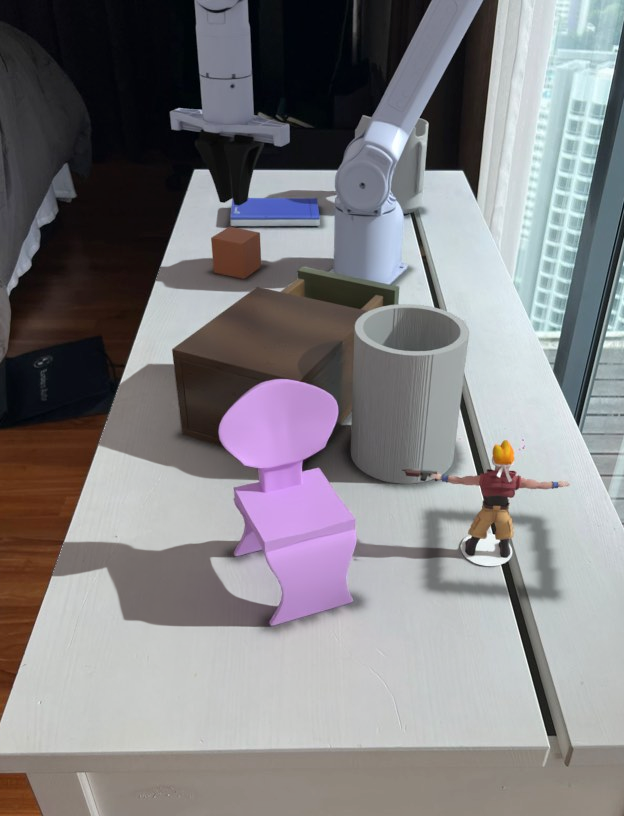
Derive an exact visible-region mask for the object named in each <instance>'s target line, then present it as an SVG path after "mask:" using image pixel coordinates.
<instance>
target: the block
mask: <svg viewBox="0 0 624 816" xmlns="http://www.w3.org/2000/svg"><path fill="white" fill-rule="evenodd" d="M210 238H211V239H210V241H211V253H212V255H211V256H212V266H213V267H212V269H213V274H219V275H224V276H228V277H232V278H237V279H242V280H246V278H248V277H250V276H251V275H253V274H254V273H255V272H256V271H258V270H259V269H261V267H262V251H261V250H262V249H261V232H259V231H255V230H250V229H245V228H238V227H235V226H228V227H226V228H225V229H223V230H221V231H219V232H218V233H217V234H215V235H213V236H211V237H210Z"/></svg>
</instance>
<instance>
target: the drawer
mask: <svg viewBox="0 0 624 816" xmlns="http://www.w3.org/2000/svg"><path fill="white" fill-rule="evenodd" d="M280 292H283V293H288V294H292V295H297V296H302V297H306V298H311V299H315V300H320V301H325V302H329V303H334V304H338V305H343V306H347V307H352V308H357V309H361V310H366V311H370V310H373V309H376V308H379V307H383V306H389V305H398V304H399V300H400V286H399V285H395V284H385V283H380V282H375V281H370V280H366V279H361V278H356V277H351V276H346V275H341V274H336V273H332V272H329V271H327V270H321V269H318V268H317V269H316V268H311V267H307V266H301V267H299V269H297V278H296V279H295V280H293V282H291V283H290V284H288V285H287V286H285V287H284V288H283V289H282V290H281V291H280Z"/></svg>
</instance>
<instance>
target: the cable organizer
mask: <svg viewBox="0 0 624 816" xmlns="http://www.w3.org/2000/svg"><path fill="white" fill-rule="evenodd" d="M371 118H372V116H367V115H364V114H362V116H361V118H360V120H359V123H358V125H357V126H356V128H355V130H354V139H355V138H356V137H358V136H359V135H360V134H361V133H363V131H364V130H365V129H366V127H367V125H368V123H369V121H370V119H371ZM428 135H429V122H428V121H427V120H426V119H424V118H420V117H419V119H418V121H417V123H416V125H415V126H414V128H413V130H412V132H411V134H410V136H409V138H408V140H407V142H406V144H405V147H404V149H403V151H402V153H401V156H400V158H399V160H398V162H397V164H396V168H395V172H394V174H393V176H392V180H391V190H390V191H391V192H392V194H393V197H395V198H396V201H397V202H398V203H399V205H400V207H401V209H402V211H403V215H406V214H412V213H414V212H416V211H417V210H418V209H419V208H420V207H421V206H422V205H423V200H424V199H423V198H424V186H425V173H426V159H427V150H428V149H427V147H428Z"/></svg>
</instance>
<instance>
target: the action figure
mask: <svg viewBox="0 0 624 816" xmlns="http://www.w3.org/2000/svg"><path fill="white" fill-rule="evenodd" d="M491 463H492V465H493V466H494V469H489V468H487V469H486V472H485V473H482V472H481V473H479V474H477V475H466V476H463V477H459V476H455V475H448V474H447V475H446V474H442V475H441V474H439V473H438V472H436V471H433V470H420V469H416V468H413V469H407V468H406V469H405V470H402V471H405V474H406V476H413V477H419V476H420V475H421V476H422V477H421V481H425V482H427V481H426V479H427V477H428V476H429V477H432V478H434V479H433V480H434V481H435V482H438V481H441V482H442V483H443V482H444V483H450V484H452V485H464V486H476V487H477V486H478V487H480V488H481V495H482V497H484V498H483V500H482V506H481V509H480V511H479V512H478V513H477V514H476V516H475V517H474V518H473V520H472V523H471V524H470V527H469V529H468V532H467V534H468V536H466V537H464V539H463V540H462V541H461V543H460V551H461V553H462V554H463V556H464V557H465V558H466V559H467V560H468V561H470V562H472V563H473V564H476V565H480V566H483V567H484V566H485V567H497V566H501V565H503V564H506V563H507V562H509V561H510V560H511V558H512V557H513V548H512V546H511V544H510V541H509V540H510V539H512V538H514V535H515V533H514V525H513V519H512V517H511V514H510V512H509V509H510V504H511V502H510V500H509V499H510V498H514V497H515V495H516V491H517V490H519V489H528V490H550V489H551V490H554V489H558V488H564V487H569V486H570V485H571V484H570V482H569V481H563V479H562V478H561V479H560V480H558V481H541V482H539V481H537V480H535V479H530V478H527V479H526V478H525V477H522V476H521V475H519V474H518V475H517V471H515V470H510V468H511V467H513V465H514V464H515V451H514V448H513V447H512V445H511V443H510V442H509V441H508V440H507V439H505V440H503V441H502V442H501V444H500V445H499V444H494V446H493V448H492V457H491ZM492 524H494V526H495V529H496V530H495V532H494V534H493V533H489V532H488V531H489V529H490V527H491V526H492Z"/></svg>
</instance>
